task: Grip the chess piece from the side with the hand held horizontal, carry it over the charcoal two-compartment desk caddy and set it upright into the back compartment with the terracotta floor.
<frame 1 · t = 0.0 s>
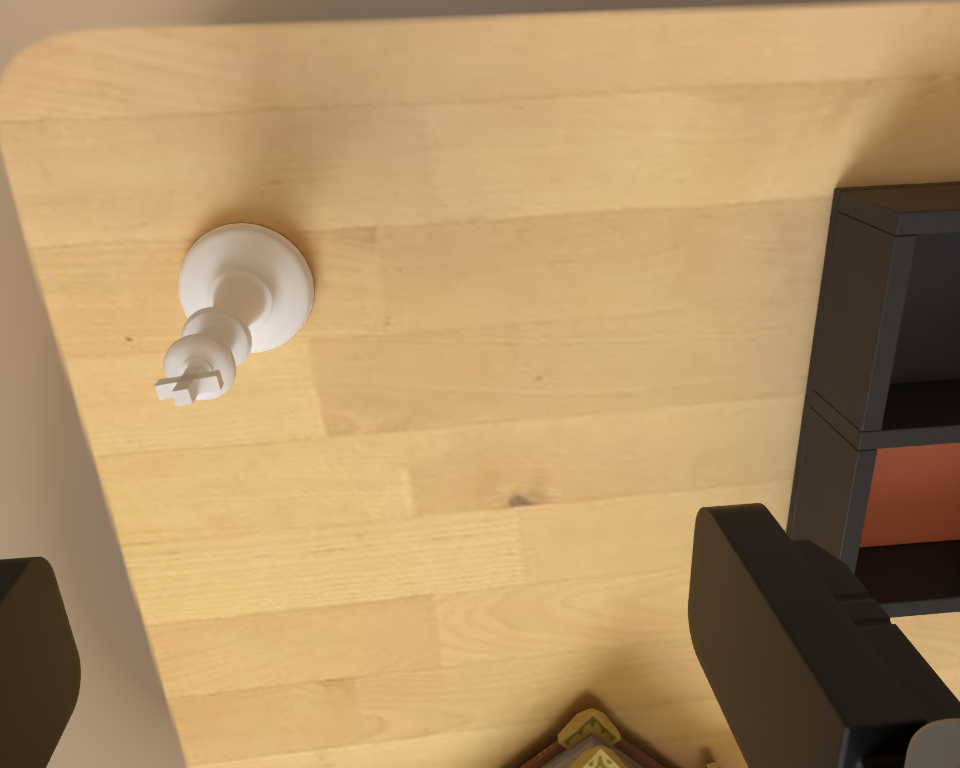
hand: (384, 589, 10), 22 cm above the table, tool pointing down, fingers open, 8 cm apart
caddy: (907, 385, 35), on the table
chess piece: (248, 286, 31), on the table
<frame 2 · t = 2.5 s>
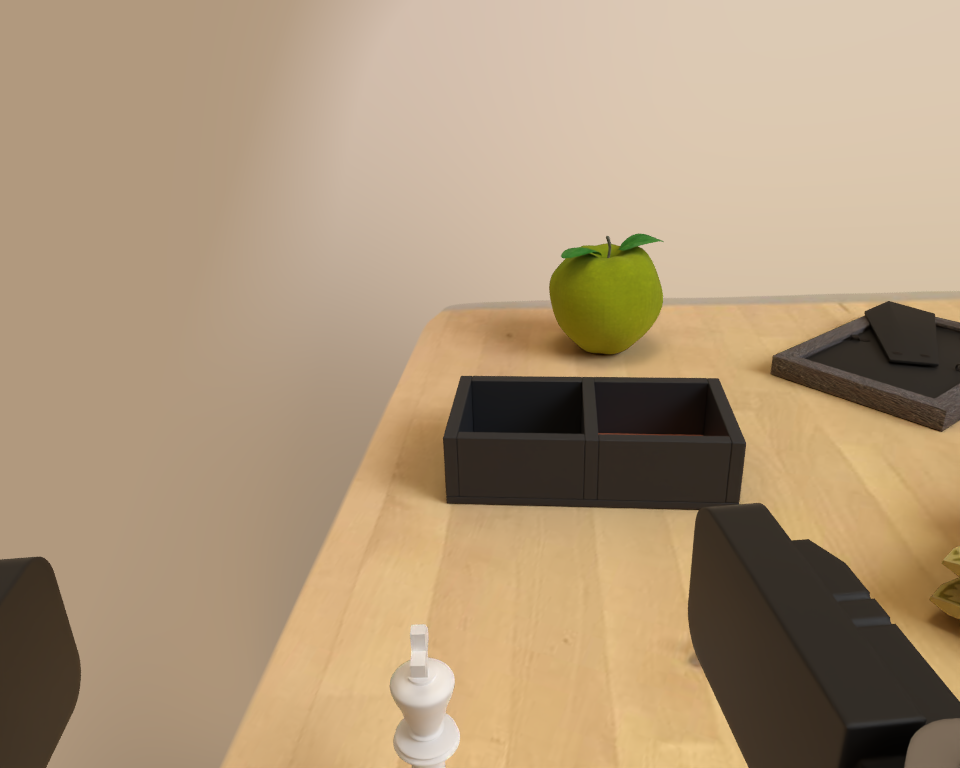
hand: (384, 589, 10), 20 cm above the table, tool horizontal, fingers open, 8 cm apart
caddy: (588, 468, 52), on the table
fruit: (604, 350, 71), on the table
picture frame: (908, 370, 65), on the table
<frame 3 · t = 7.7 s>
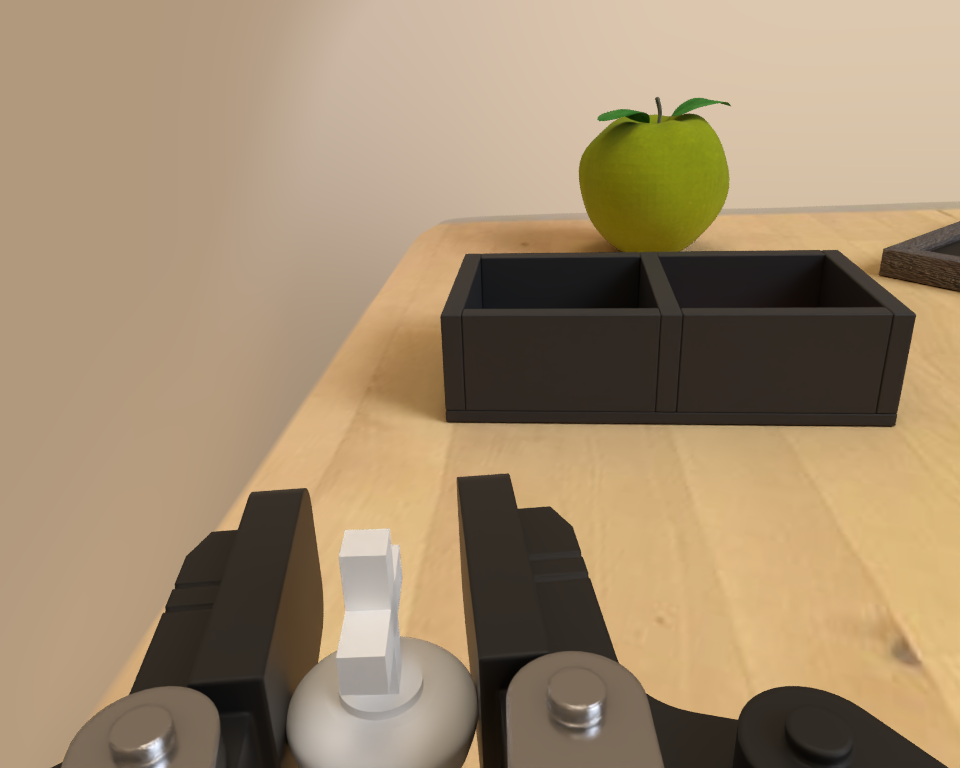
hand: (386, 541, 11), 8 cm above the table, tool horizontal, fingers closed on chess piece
caddy: (652, 378, 36), on the table
fruit: (650, 256, 55), on the table
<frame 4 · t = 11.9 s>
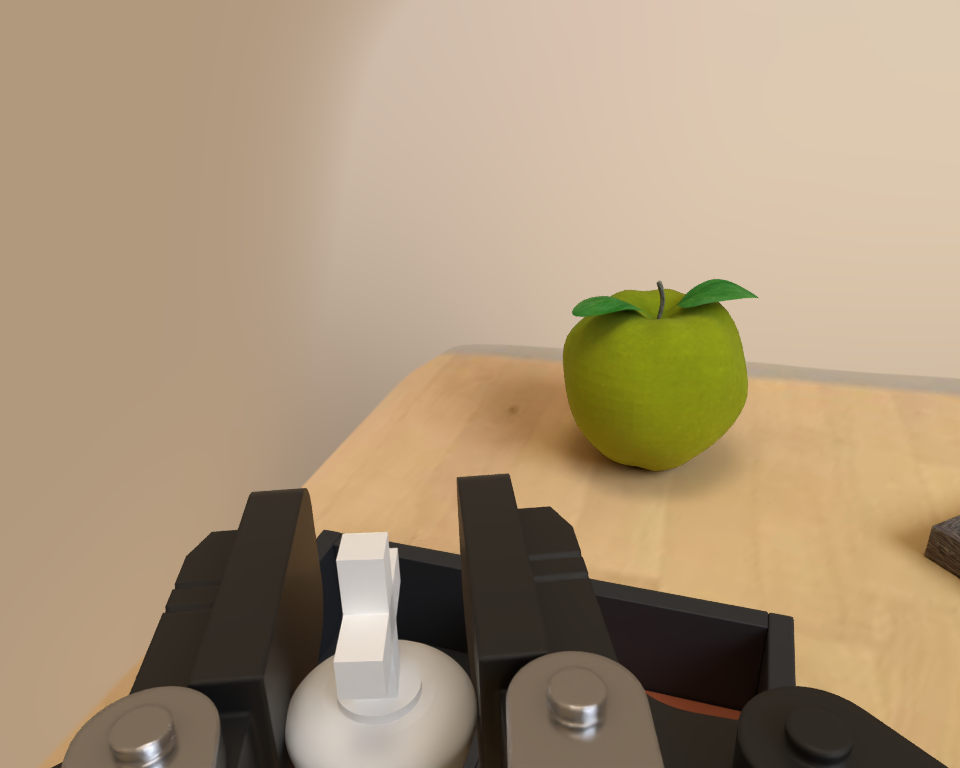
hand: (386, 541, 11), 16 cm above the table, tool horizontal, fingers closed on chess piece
caddy: (504, 758, 27), on the table
fruit: (647, 457, 45), on the table
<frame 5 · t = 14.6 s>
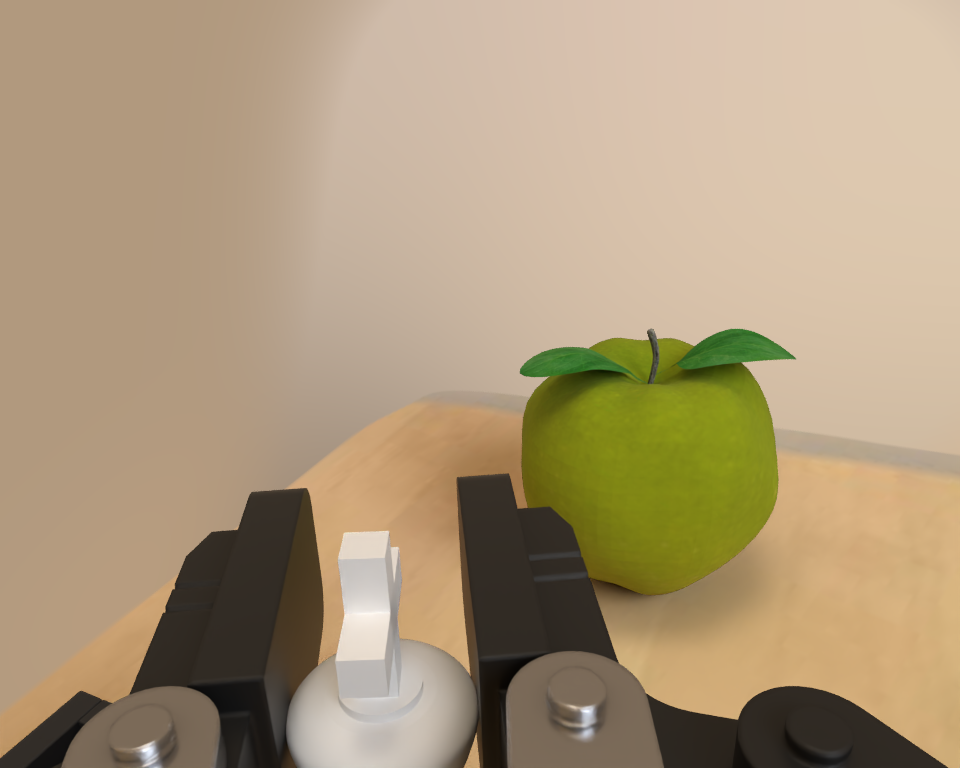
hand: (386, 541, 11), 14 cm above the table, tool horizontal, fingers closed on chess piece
fruit: (639, 568, 32), on the table
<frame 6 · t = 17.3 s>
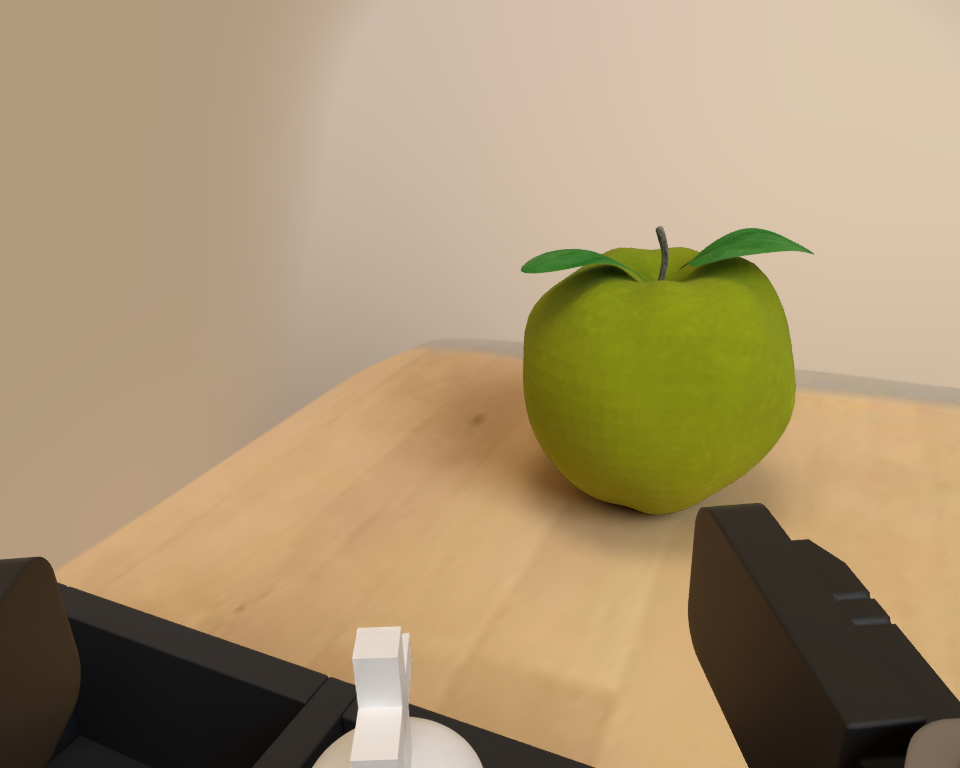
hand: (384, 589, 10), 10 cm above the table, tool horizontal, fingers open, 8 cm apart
fruit: (648, 494, 31), on the table
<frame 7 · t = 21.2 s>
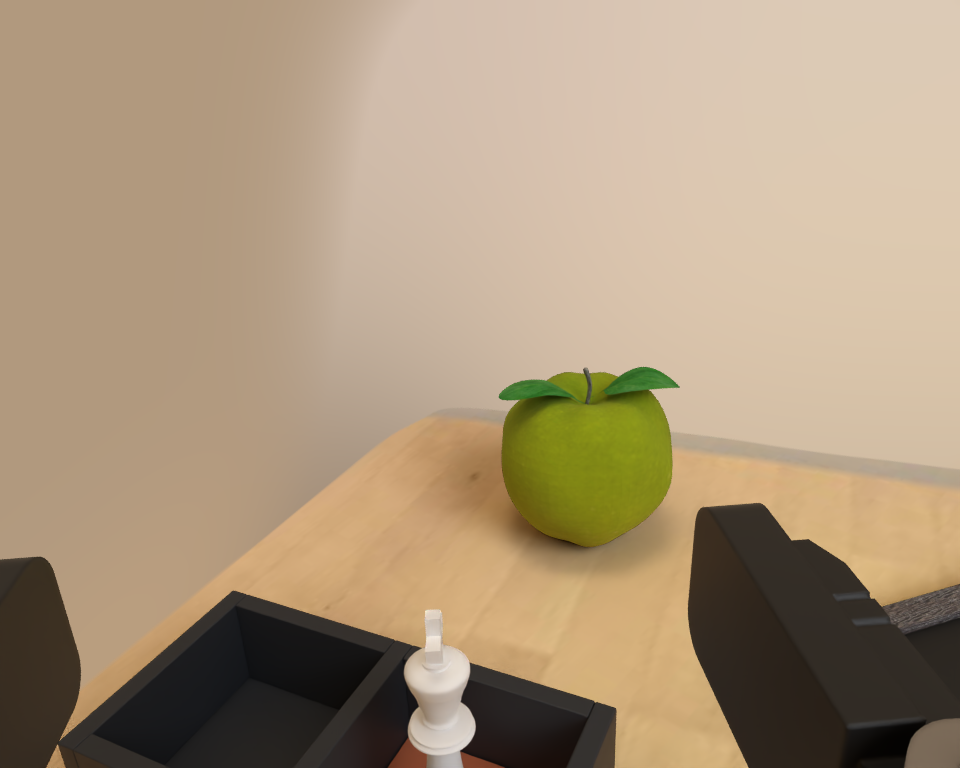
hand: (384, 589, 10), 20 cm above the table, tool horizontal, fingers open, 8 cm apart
fruit: (585, 532, 46), on the table
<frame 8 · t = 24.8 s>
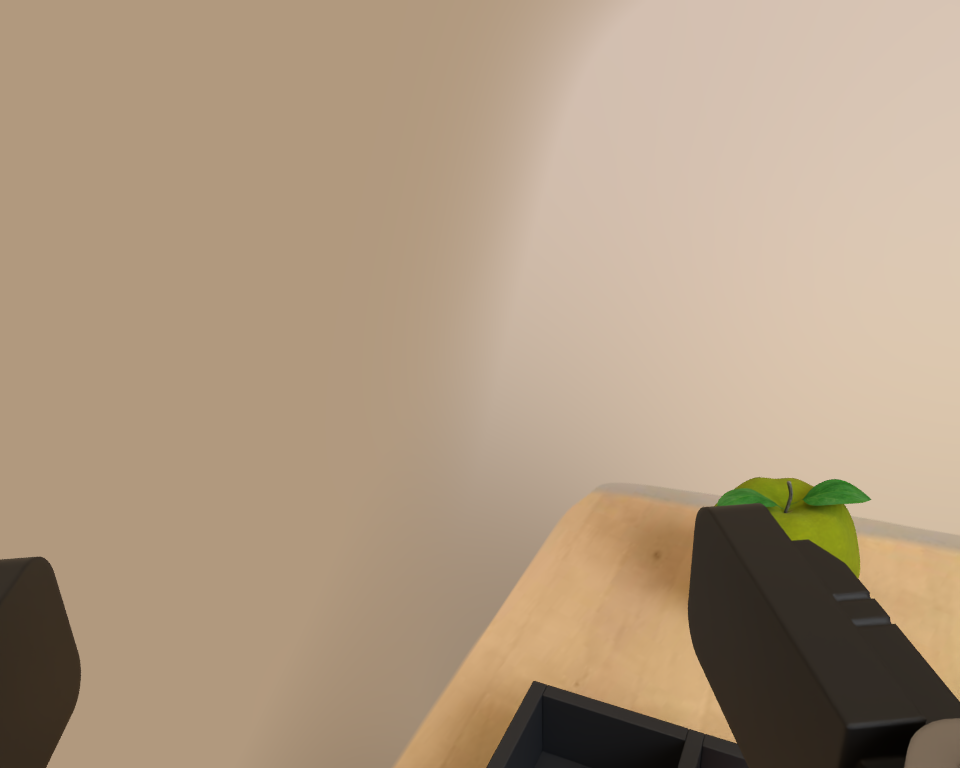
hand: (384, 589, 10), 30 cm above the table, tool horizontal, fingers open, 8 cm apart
fruit: (772, 612, 54), on the table
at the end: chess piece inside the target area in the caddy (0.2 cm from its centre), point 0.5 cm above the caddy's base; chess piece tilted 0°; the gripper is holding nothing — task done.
